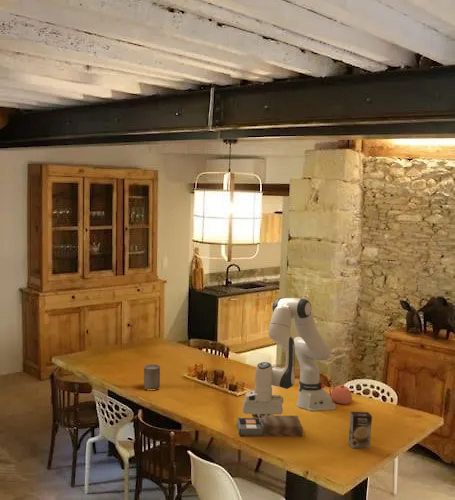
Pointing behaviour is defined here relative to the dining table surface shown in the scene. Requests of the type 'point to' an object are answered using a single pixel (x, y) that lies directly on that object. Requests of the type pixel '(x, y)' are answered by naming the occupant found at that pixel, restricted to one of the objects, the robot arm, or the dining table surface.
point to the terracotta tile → (250, 422)
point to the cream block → (251, 426)
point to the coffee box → (360, 430)
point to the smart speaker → (152, 376)
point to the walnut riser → (282, 426)
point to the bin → (250, 431)
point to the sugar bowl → (340, 394)
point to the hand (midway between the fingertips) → (262, 422)
